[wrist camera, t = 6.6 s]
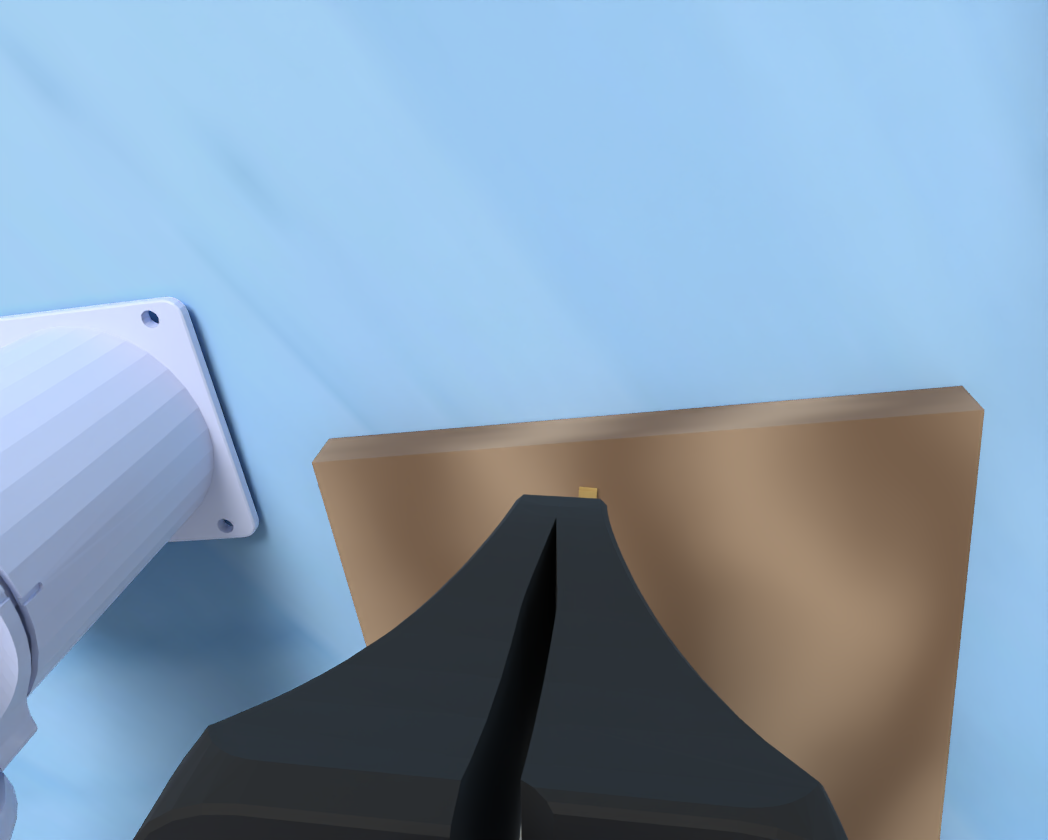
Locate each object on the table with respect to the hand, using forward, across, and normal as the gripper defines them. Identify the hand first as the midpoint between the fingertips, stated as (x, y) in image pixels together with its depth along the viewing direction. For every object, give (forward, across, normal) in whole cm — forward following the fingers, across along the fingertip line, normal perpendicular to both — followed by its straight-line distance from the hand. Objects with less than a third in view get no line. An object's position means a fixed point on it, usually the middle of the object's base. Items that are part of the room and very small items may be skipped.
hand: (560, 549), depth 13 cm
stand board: (+10, -2, +12) cm, 16 cm away
